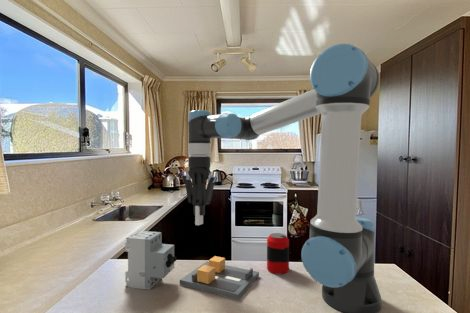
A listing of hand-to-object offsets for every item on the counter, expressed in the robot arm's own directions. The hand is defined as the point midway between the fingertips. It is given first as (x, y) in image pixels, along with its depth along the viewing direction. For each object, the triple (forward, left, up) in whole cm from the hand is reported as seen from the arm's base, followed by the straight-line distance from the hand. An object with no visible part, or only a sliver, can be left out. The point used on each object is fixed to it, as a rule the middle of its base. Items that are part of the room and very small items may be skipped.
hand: (199, 224), depth 94 cm
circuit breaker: (+8, +14, -16) cm, 23 cm away
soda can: (-24, -13, -16) cm, 32 cm away
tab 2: (-7, 0, -14) cm, 16 cm away
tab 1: (-8, +8, -14) cm, 18 cm away
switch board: (-10, +3, -16) cm, 19 cm away
